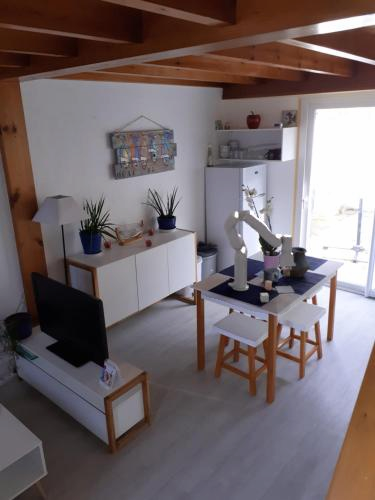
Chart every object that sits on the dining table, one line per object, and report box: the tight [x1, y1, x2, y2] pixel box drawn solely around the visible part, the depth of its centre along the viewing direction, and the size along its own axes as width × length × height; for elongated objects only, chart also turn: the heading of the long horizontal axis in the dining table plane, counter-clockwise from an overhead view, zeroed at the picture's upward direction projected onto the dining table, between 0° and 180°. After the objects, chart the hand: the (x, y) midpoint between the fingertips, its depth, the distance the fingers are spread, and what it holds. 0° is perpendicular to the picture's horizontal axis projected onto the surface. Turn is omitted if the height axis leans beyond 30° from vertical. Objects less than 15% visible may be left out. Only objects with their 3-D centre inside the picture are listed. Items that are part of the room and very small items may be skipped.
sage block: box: [259, 292, 270, 303], centre depth 298 cm, size 5×5×5 cm
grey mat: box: [274, 285, 295, 294], centre depth 315 cm, size 12×12×1 cm
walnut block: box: [282, 267, 291, 277], centre depth 310 cm, size 5×5×5 cm
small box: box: [263, 267, 280, 284], centre depth 329 cm, size 11×6×10 cm, turn 105°
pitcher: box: [284, 246, 311, 279], centre depth 336 cm, size 21×22×25 cm
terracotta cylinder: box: [264, 281, 273, 291], centre depth 317 cm, size 5×5×6 cm
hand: (285, 273), depth 311 cm, fingers closed on walnut block, 4 cm apart
